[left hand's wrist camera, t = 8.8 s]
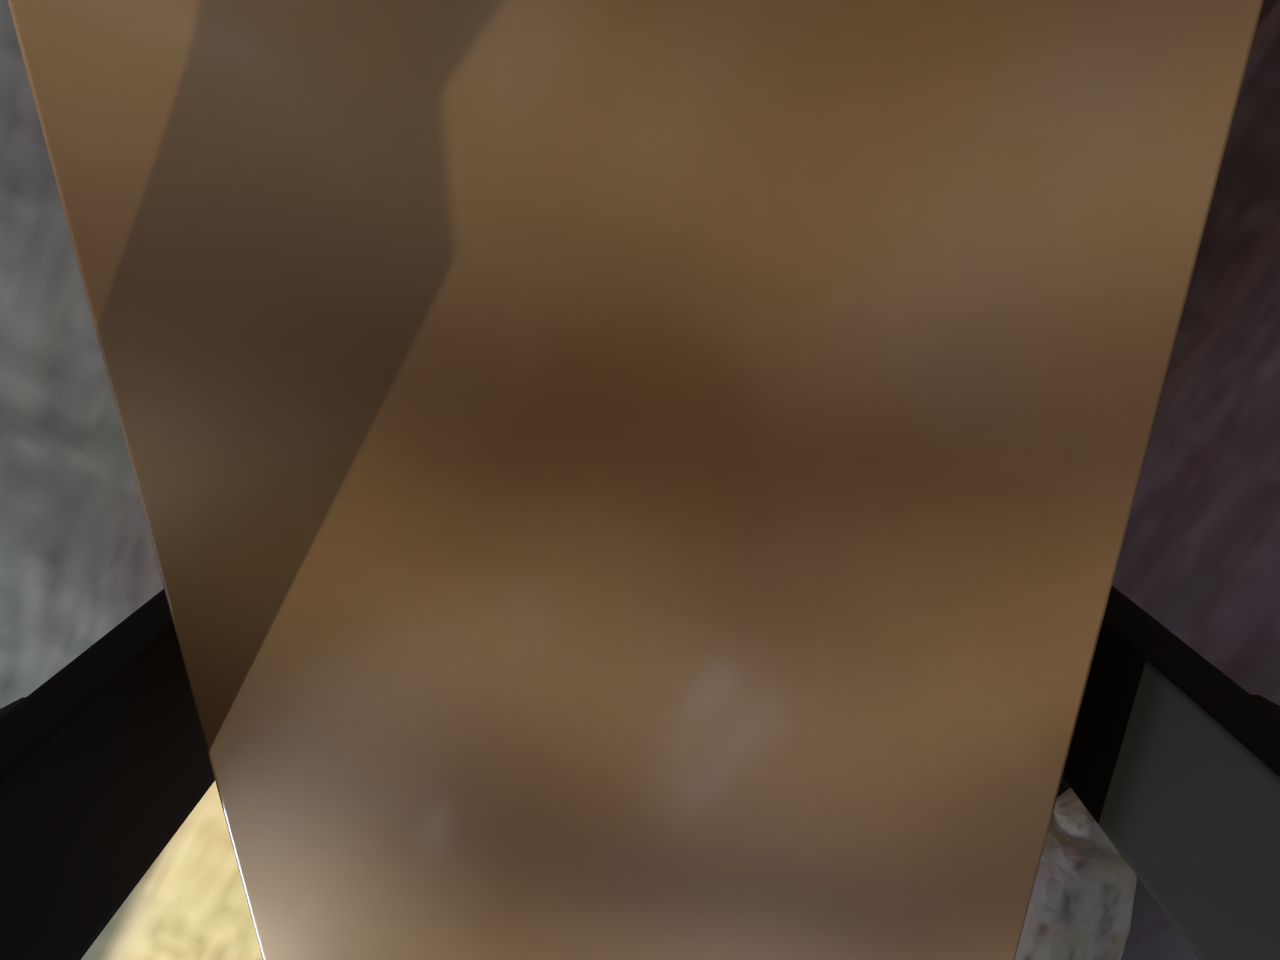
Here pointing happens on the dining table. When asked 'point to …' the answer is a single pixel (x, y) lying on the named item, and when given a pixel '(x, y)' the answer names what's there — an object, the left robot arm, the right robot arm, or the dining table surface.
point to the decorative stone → (1078, 891)
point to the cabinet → (637, 439)
